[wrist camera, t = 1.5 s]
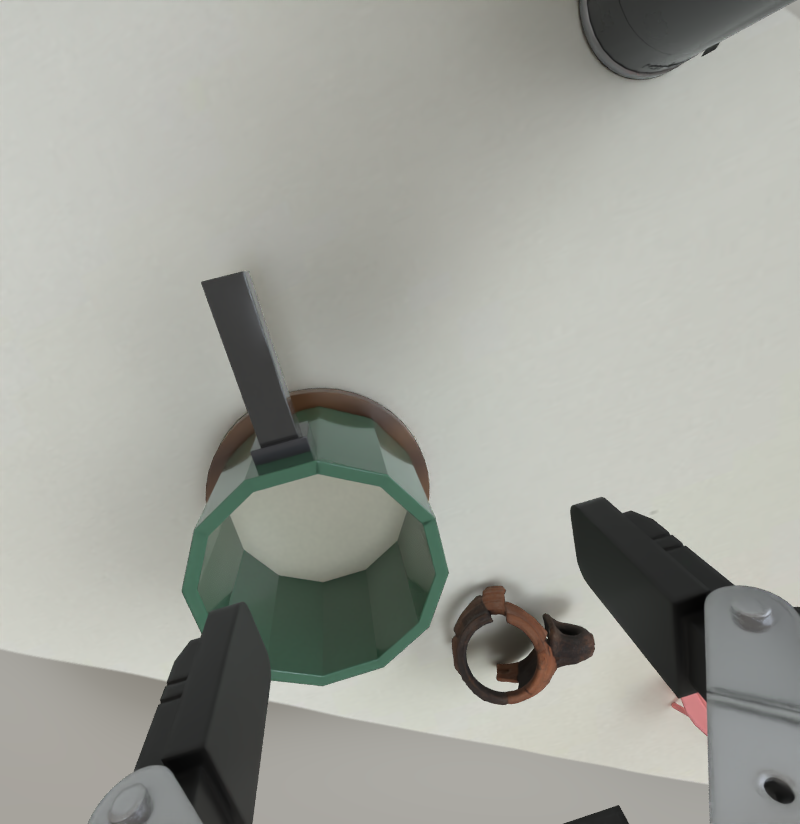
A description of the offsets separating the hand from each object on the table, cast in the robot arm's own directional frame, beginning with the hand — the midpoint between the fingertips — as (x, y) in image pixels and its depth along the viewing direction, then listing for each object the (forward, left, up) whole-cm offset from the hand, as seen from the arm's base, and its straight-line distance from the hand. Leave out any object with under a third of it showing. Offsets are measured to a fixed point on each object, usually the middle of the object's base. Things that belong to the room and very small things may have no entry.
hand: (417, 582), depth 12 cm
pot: (+4, -6, -24) cm, 25 cm away
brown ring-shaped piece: (+28, +5, -26) cm, 39 cm away
